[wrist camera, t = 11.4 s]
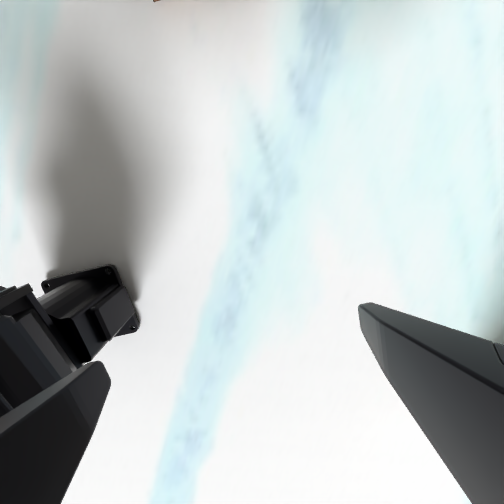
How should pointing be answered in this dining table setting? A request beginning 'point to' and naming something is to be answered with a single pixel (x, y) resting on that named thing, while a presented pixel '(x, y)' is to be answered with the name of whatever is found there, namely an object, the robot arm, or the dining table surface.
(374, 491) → the dining table surface
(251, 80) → the dining table surface
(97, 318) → the robot arm
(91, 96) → the dining table surface
